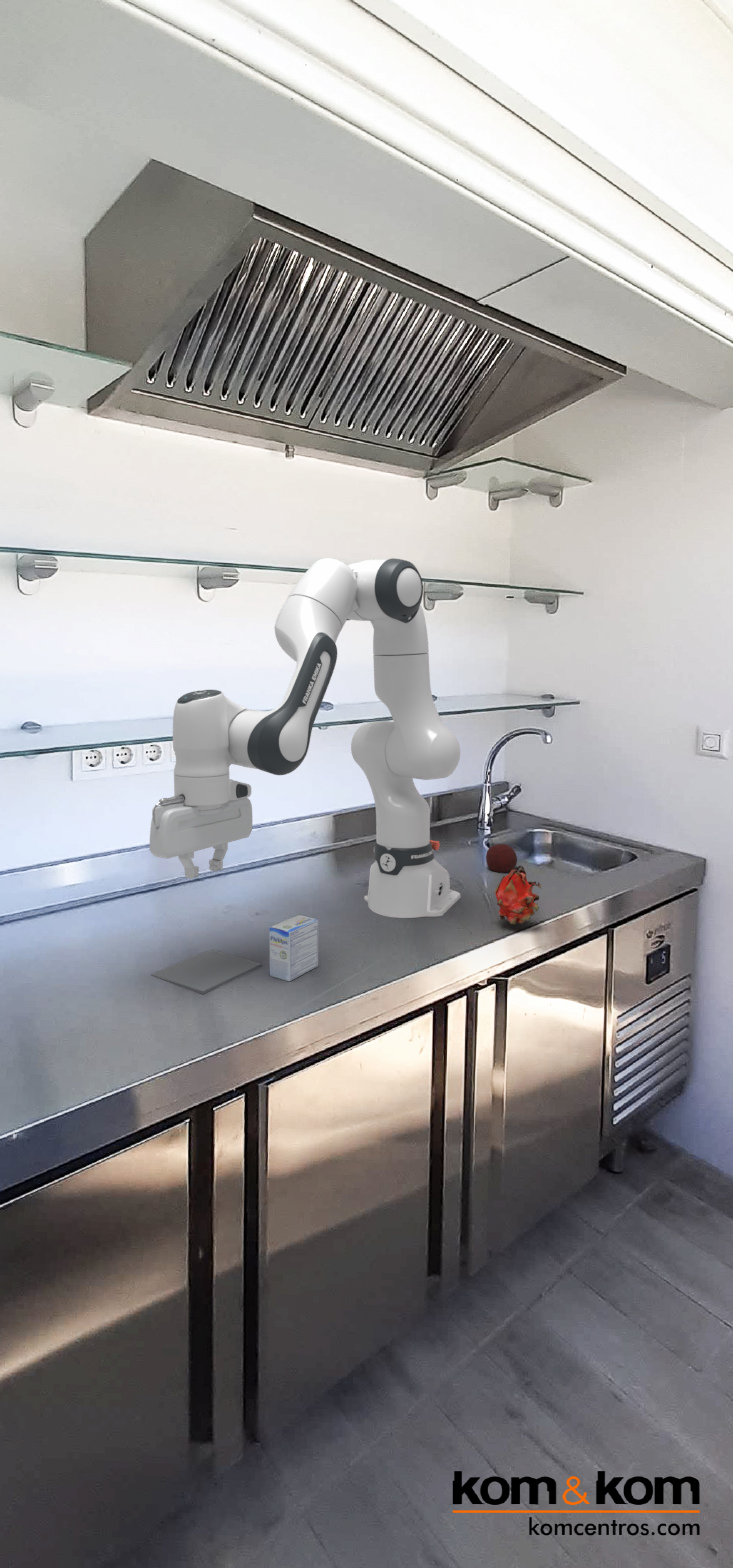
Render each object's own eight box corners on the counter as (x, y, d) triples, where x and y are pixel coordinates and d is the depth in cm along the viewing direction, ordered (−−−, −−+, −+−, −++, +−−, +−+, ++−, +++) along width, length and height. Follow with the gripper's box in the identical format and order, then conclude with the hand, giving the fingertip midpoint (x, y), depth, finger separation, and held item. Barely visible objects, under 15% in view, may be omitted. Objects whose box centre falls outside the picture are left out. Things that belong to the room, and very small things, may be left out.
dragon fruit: (517, 935, 157) (520, 874, 155) (484, 924, 163) (486, 865, 161) (546, 926, 162) (548, 867, 160) (512, 915, 169) (514, 858, 167)
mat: (211, 952, 148) (211, 949, 148) (262, 966, 141) (261, 963, 141) (150, 977, 136) (150, 974, 136) (203, 994, 130) (203, 991, 130)
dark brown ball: (479, 870, 203) (480, 842, 202) (506, 867, 206) (506, 839, 205) (496, 878, 197) (497, 849, 195) (523, 874, 200) (524, 846, 199)
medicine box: (298, 962, 143) (298, 914, 142) (319, 967, 141) (318, 918, 140) (269, 976, 137) (268, 926, 136) (290, 982, 135) (289, 931, 133)
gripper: (167, 802, 123) (170, 891, 126) (258, 785, 140) (259, 864, 142) (138, 798, 127) (141, 885, 129) (230, 781, 144) (232, 858, 146)
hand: (204, 873), depth 136 cm, fingers open, 4 cm apart
